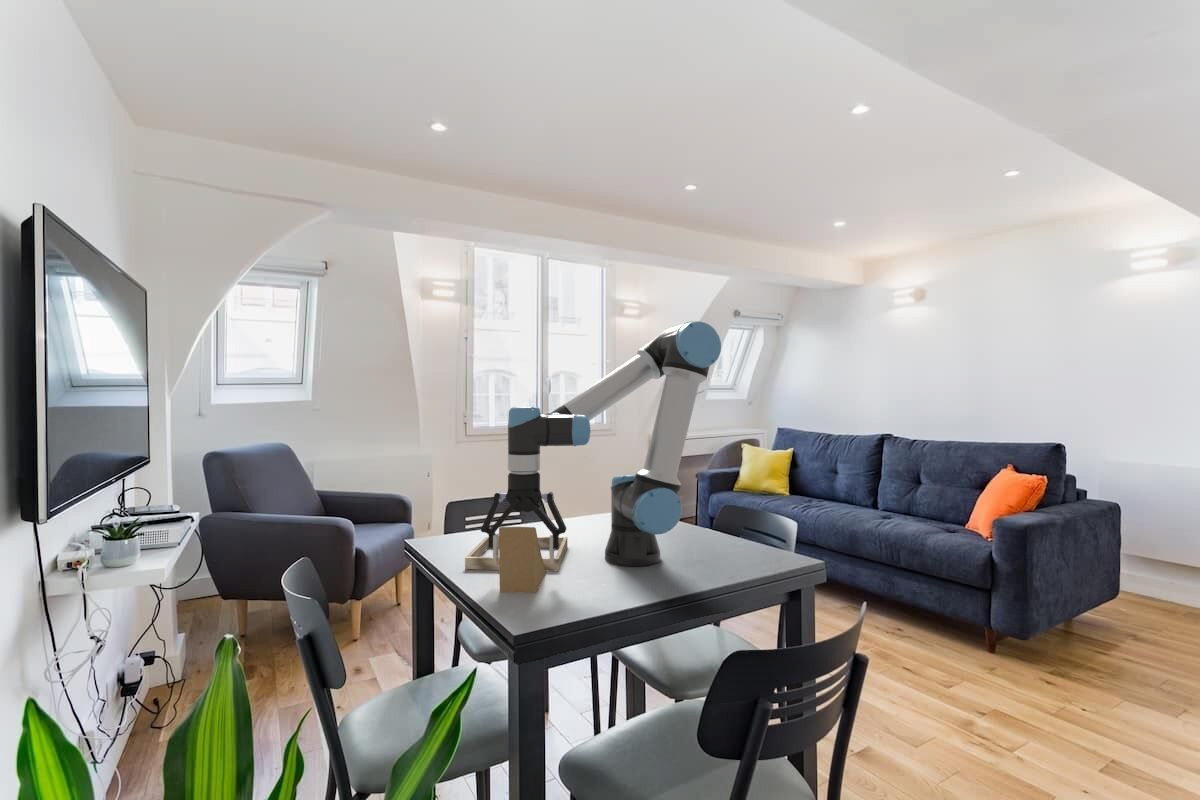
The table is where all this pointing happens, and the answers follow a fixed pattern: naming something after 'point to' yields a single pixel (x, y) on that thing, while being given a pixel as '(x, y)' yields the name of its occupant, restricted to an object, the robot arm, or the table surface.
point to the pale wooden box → (487, 563)
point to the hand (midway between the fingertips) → (523, 562)
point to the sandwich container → (520, 560)
